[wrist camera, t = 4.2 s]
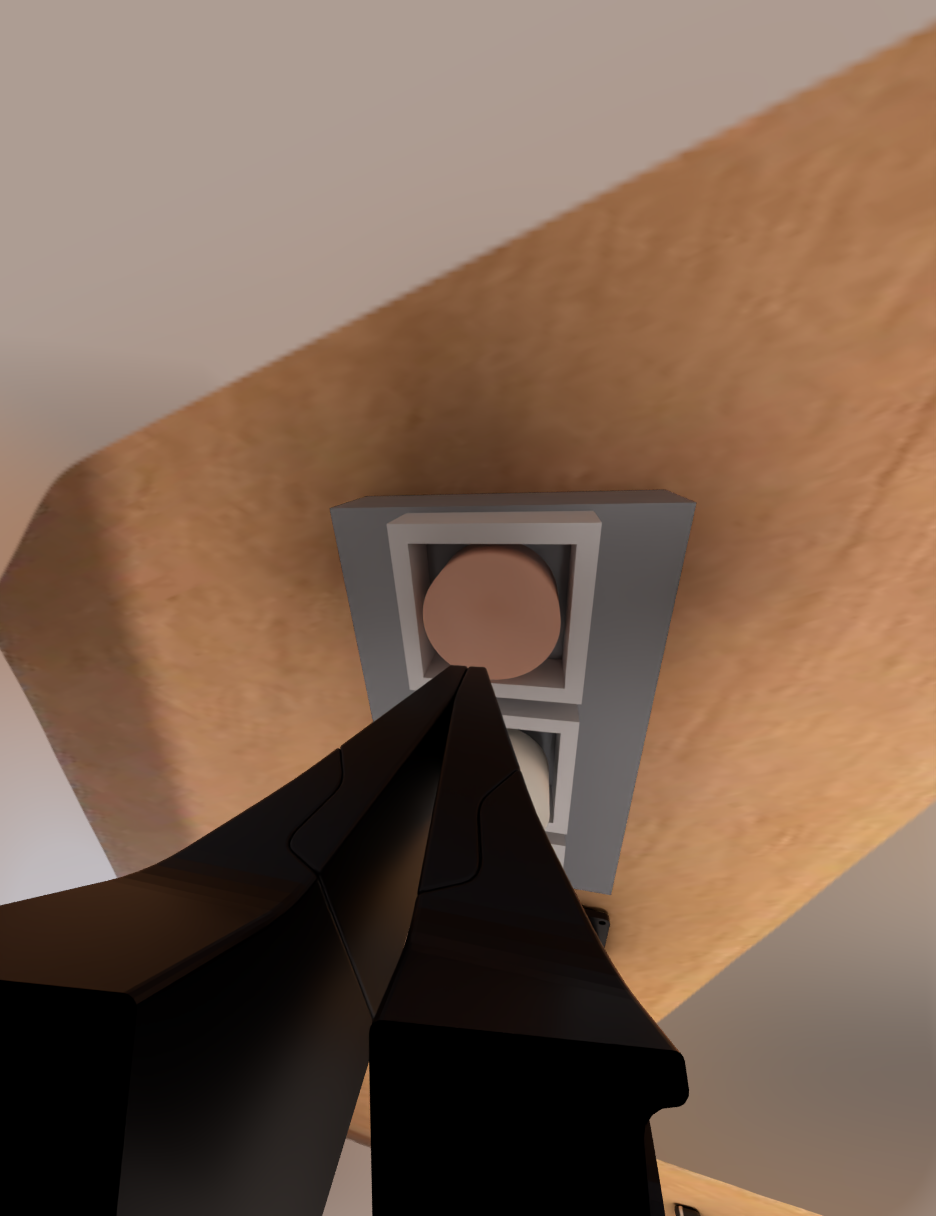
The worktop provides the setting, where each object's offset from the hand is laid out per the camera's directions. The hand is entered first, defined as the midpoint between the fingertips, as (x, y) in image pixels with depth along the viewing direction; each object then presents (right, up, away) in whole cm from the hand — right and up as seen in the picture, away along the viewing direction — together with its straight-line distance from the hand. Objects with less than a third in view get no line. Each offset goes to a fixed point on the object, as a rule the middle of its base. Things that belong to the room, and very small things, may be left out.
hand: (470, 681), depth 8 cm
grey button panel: (+2, -3, +10) cm, 11 cm away
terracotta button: (+1, +2, +5) cm, 5 cm away
